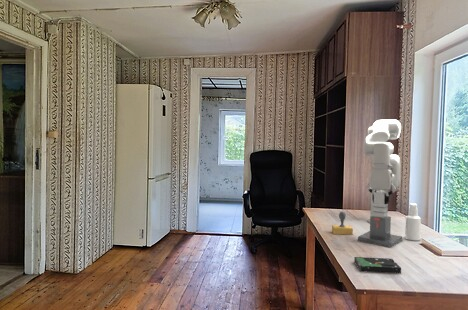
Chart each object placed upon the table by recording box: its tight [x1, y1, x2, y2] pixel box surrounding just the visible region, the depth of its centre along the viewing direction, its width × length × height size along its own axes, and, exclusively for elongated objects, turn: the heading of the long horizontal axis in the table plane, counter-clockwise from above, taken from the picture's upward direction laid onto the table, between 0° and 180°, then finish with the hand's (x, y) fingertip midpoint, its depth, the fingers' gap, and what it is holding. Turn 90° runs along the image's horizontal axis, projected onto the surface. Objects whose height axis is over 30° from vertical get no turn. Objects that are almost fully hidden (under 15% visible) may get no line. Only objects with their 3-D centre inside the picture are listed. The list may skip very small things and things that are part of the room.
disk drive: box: [354, 256, 402, 274], centre depth 128 cm, size 10×3×15 cm
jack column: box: [374, 191, 389, 219], centre depth 165 cm, size 5×5×22 cm
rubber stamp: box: [331, 211, 354, 236], centre depth 178 cm, size 10×6×12 cm, turn 84°
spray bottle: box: [405, 202, 422, 241], centre depth 168 cm, size 7×7×18 cm
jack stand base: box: [357, 215, 403, 248], centre depth 165 cm, size 16×16×12 cm
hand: (380, 202), depth 164 cm, fingers closed on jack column, 5 cm apart
